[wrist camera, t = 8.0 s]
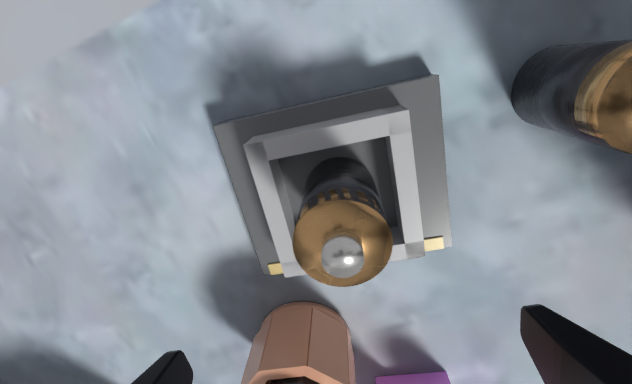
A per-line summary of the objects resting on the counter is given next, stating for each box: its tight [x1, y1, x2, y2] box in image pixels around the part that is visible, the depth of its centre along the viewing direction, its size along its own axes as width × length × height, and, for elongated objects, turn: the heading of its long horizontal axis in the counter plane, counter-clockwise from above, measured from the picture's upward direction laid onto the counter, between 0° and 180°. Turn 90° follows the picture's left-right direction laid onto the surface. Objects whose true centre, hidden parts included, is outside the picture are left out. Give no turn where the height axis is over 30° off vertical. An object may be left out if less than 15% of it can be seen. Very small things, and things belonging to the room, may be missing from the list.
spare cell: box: [511, 40, 632, 154], centre depth 13 cm, size 4×4×7 cm
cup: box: [241, 301, 356, 384], centre depth 22 cm, size 7×7×5 cm
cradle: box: [213, 74, 452, 278], centre depth 18 cm, size 12×10×3 cm
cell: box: [292, 157, 393, 287], centre depth 15 cm, size 4×4×7 cm
